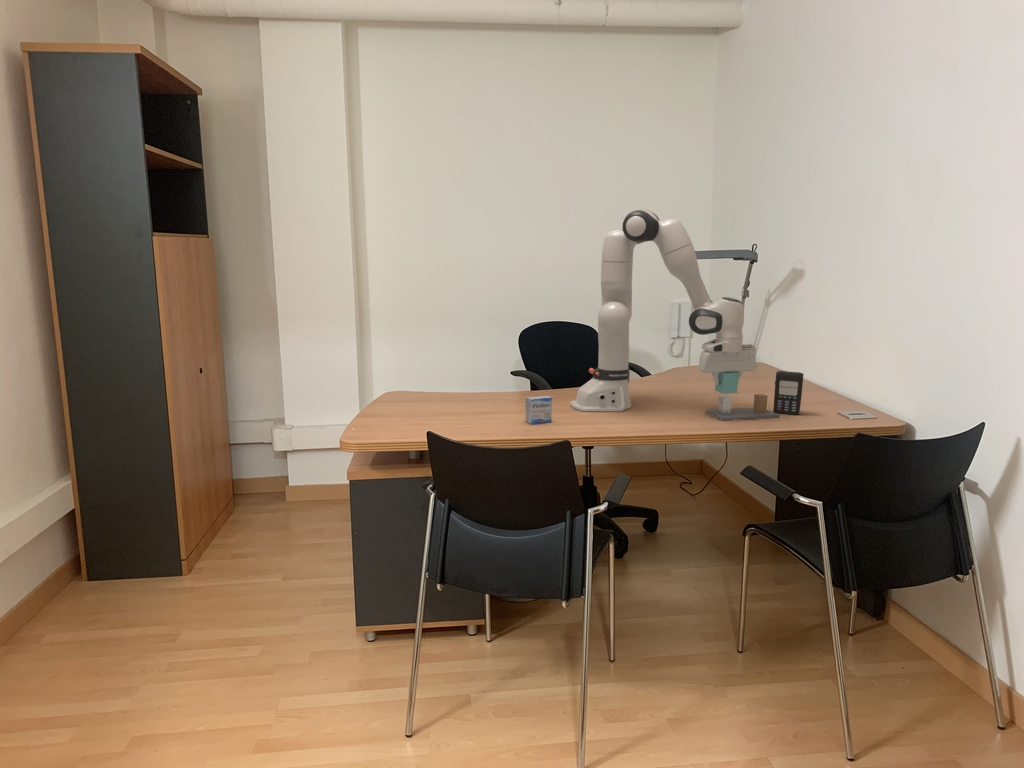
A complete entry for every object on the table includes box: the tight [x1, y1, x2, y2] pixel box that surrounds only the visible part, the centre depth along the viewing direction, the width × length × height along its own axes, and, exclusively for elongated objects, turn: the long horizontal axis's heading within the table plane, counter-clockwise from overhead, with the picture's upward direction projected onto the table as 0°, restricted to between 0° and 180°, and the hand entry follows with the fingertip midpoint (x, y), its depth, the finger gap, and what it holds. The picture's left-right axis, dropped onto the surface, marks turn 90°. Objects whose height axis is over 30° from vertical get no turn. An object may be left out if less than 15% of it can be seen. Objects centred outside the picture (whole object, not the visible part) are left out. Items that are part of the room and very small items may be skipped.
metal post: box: [717, 395, 733, 415], centre depth 252 cm, size 3×3×6 cm
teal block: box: [714, 372, 739, 395], centre depth 251 cm, size 5×5×7 cm
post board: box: [704, 393, 780, 421], centre depth 254 cm, size 22×12×7 cm, turn 103°
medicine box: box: [525, 395, 553, 425], centre depth 243 cm, size 8×4×9 cm, turn 113°
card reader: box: [773, 370, 805, 416], centre depth 256 cm, size 9×4×15 cm, turn 66°
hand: (726, 384), depth 251 cm, fingers closed on teal block, 5 cm apart
